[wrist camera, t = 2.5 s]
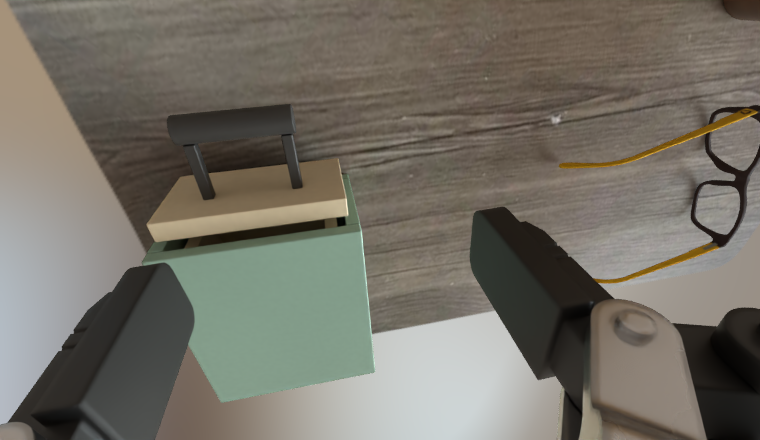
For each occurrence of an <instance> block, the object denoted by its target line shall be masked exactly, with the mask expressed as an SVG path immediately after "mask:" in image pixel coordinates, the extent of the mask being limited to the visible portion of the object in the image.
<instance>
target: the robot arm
mask: <svg viewBox="0 0 760 440" xmlns="http://www.w3.org/2000/svg"><path fill="white" fill-rule="evenodd" d="M470 263H471V268H472V271H473V274H474V276H475V278H476V279H477V281H478V283H479V284H480V286H481V288H482V289H483V291H484V292H485V294H486V296H487V297H488V299H489V301H490V302H491V304H492V306H493V307H494V309H495V310H496V312H497V314H498V315H499V317H500V319H501V320H502V322H503V324H504V325H505V327H506V328H507V330H508V332H509V333H510V335H511V337H512V338H513V340H514V342H515V343H516V345H517V346H518V348H519V350H520V351H521V353H522V354H523V356H524V358H525V360H526V361H527V363H528V365H529V366H530V368H531V369H532V371H533V373H534V374H535V376H536V378H537V379H538V380H541V379H545V378H549V377H554V376H556V377H557V379H558V380H559V382H560V383H561V385H562V386H563V387H562V389H561V393H560V404H559V417H558V430H557V440H760V309H756V308H737V309H733V310H731V311H729V312H728V313H727V314H726V315H725V316H724V318H723V319H722V321H721V322H720V324H719V325H718V326H717V327H716V326H702V325H689V324H676V323H671V322H670V321H669V320H667V319H666V318H665V317H664V316H662V315H661V314H659V313H658V312H656V311H655V310H653V309H651V308H649V307H647V306H644V305H642V304H639V303H636V302H633V301H628V300H622V299H614V298H613V297H612V296H611V295H610V294H609V293H608V292H607V291H606V290H605V289H604V288H603V287H601V286H600V285H599V284H598V283H597V282H596V281H595V280H594V279H593V278H592V277H591V276H590V275H589V274H588V273H587V272H586V271H585V270H584V269H583V268H582V267H581V266H580V265H579V264H578V263H577V262H576V261H575V260H574V259H573V258H571V257H568V254H567V253H566V252H565V251H564V250H563V249H562V248H561V247H560V246H557V243H556V242H555V241H554V240H553V239H552V238H551V237H550V236H549V235H548V234H547V233H546V232H545V231H543V230H541V229H539V228H538V227H536V226H534V225H532V224H530V223H528V222H526V221H525V222H519V221H518V220H517V219H516V217H515V216H514V215H513V214H512V213H511V212H510V211H509V210H508V209H507V208H505V207H498V208H492V209H486V210H480V211H476V212H475V213H474V216H473V224H472V236H471V247H470ZM194 323H195V316H194V310H193V306H192V304H191V302H190V300H189V298H188V297H187V295H186V293H185V291H184V289H183V288H182V286H181V284H180V282H179V280H178V278H177V277H176V275H175V273H174V271H173V269H172V268H171V267H170V265H168V264H167V263H157V264H151V265H145V266H139V267H133V268H130V269H128V270H127V271H126V272H125V274H124V275H123V276H122V278H121V279H120V281H119V282H118V284H117V286H116V287H115V289H114V290H113V291H112V292H109V293H108V294H106V295H105V296H104V297H103V298H102V299H100V300H99V301H98V302H97V303H96V304H95V305H94V306H92V307H91V308H90V309H89V310H88V311H87V312H86V313H85V315H84V317H83V318H82V319H81V320H80V322H79V323H78V325H77V326H76V327H75V329H74V334H70V336H69V337H68V339H67V340H66V341H65V343H64V344H63V346H62V351H59V352H58V353H57V354H56V355H55V357H54V358H53V360H52V361H51V363H50V364H49V365H48V367H47V368H46V370H45V371H44V372H43V374H42V375H41V377H40V378H39V379H38V381H37V382H36V384H35V385H34V386H33V388H32V389H31V391H30V392H29V393H28V395H27V396H26V398H25V399H24V400H23V402H22V403H21V405H20V406H19V407H18V409H17V410H16V412H15V413H14V414H13V416H12V417H11V419H10V420H9V421H8V423H6V424H1V425H0V440H155V438H156V435H157V432H158V429H159V426H160V424H161V420H162V418H163V415H164V412H165V409H166V406H167V403H168V401H169V398H170V395H171V392H172V389H173V386H174V383H175V380H176V378H177V375H178V372H179V369H180V366H181V363H182V360H183V357H184V355H185V352H186V349H187V346H188V343H189V340H190V337H191V335H192V332H193V328H194Z"/></svg>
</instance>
